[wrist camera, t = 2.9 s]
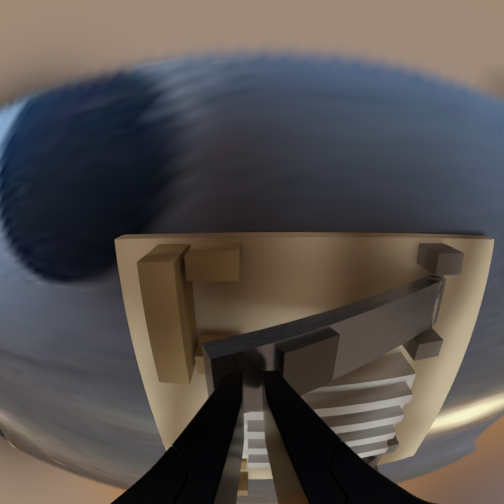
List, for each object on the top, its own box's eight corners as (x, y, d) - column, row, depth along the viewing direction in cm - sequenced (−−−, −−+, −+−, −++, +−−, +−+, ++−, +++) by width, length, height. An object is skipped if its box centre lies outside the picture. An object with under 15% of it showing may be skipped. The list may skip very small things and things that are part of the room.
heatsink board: (484, 235, 13) (529, 254, 9) (409, 447, 18) (424, 479, 14) (123, 234, 13) (81, 258, 9) (177, 464, 18) (169, 502, 15)
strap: (433, 270, 12) (451, 277, 11) (422, 320, 13) (439, 328, 12) (200, 338, 8) (214, 360, 7) (209, 407, 8) (222, 430, 7)
